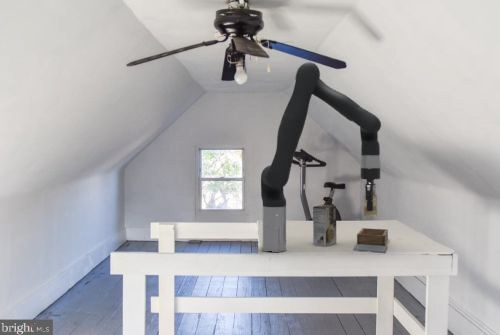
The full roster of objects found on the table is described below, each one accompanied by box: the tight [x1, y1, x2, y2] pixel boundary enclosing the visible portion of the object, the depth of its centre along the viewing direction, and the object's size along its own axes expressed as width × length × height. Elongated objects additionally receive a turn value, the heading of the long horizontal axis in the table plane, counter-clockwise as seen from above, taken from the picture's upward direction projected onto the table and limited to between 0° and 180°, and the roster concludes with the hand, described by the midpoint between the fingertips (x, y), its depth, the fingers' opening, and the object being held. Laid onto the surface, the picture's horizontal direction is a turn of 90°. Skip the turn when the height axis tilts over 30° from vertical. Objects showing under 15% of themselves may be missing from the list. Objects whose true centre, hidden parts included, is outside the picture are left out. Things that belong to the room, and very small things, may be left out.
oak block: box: [363, 194, 378, 217], centre depth 170 cm, size 4×4×8 cm
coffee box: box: [312, 204, 337, 247], centre depth 181 cm, size 9×6×16 cm
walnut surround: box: [356, 227, 389, 246], centre depth 185 cm, size 18×11×4 cm, turn 159°
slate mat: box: [352, 243, 388, 254], centre depth 170 cm, size 11×12×1 cm
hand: (370, 210), depth 170 cm, fingers closed on oak block, 4 cm apart
